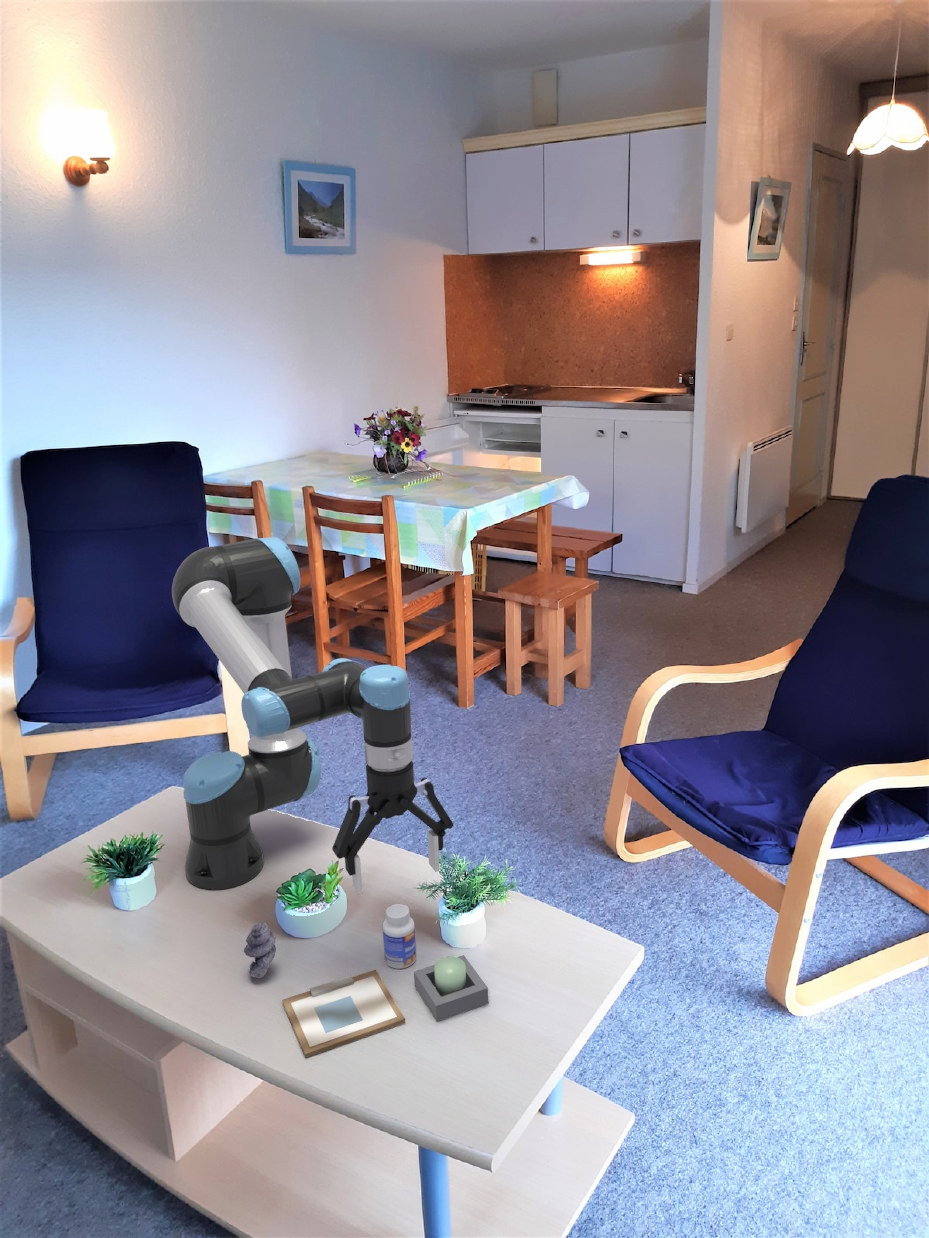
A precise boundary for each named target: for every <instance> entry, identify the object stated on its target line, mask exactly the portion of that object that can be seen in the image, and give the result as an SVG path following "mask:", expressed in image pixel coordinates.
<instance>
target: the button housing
mask: <svg viewBox="0 0 929 1238" xmlns="http://www.w3.org/2000/svg"><path fill="white" fill-rule="evenodd" d="M457 957H458V958H460V959H462V960H463V961H464V963H465V965H466V989H463V990H460V991H457V992H454V993H451V994H448V995H445V996H443V997H442V996H440V995H439V993H438V992H437V990H436V989H435V970H434V966H435V964H433V965H429V966H426V967H423V968H420V969H417V970H415V971H413V979H414V989H416V992H417V993H418V995H420V997H421V999H422V1001H423V1002H424V1004H425V1005H426V1007H427V1008H428V1010H429V1012H430V1013H431V1016H432V1017H433V1018H434V1019H435V1022H441V1021H443V1020H446V1019H449V1018H452V1017H454V1016H457V1015H461V1014H463V1013H465V1012H467V1011H470V1010H474V1009H477V1008H480V1007H482V1006H485V1005H488V1004H489V987H488V985H487V984H486V983H485V981H484V980H483V979H482V978H481V976H480V975H479V973H478V972H477V971H476V969H475V968H474V967H473V965H472V964H471V963H470V962H469V960H468V959H467V958H466V956H465V955H464V954H462V955H459V956H457Z"/></svg>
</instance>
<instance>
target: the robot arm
mask: <svg viewBox="0 0 929 1238" xmlns="http://www.w3.org/2000/svg"><path fill="white" fill-rule="evenodd" d="M291 550H292V549H290V547H289V546H288V544H287V543H285V542H284V541H283V540H282V539H281V538H278V537H273V536H271V537H261V538H259V537H257V538H256V537H255V538H251V539H247V540H241V541H235V542H230V543H226V544H225V543H224V544H221V545H220V544H219V545H216V546H206V547H203V548H200V549H197V550H196V551H194V552H192V553H191V554H189V555H188V556H187V557H186V558H185V559H184V560H182V562H181V564H180V565H179V567H177V570H176V572H175V575H174V577H173V581H172V585H171V586H172V587H171V596H172V597H171V598H172V602H173V606H174V608H175V610H176V612H177V613H178V615H179V616H180V617H181V620H182V621H183V622H184V623H185V624H186V625H188V626H190V627H192V628H196V630H197V631H198V632H199V634H200V635H201V636H202V638H203V640H204V641H205V642H206V644H207V645H208V646H209V648H210V649H211V651H212V652H213V654H215V656H216V657H217V659H218V660H219V661H220V662H221V664H222V666H223V667H224V668H225V670H226V671H227V672H228V674H229V675H230V677H231V678H232V679H233V680H234V683H236V685H237V686H238V688H239V689H240V690H241V692H242V693H243V695H242V698H241V703H240V704H241V713H242V718H243V720H244V721H245V724H246V728H247V729H248V732H249V733H251V734H252V737H251V738H249V740H248V741H247V749H248V754H247V755H246V754H245V755H243V756H242V755H241V754H240V753H239V752H237V751H233V750H231V751H230V750H226V751H223V752H222V751H221V750H219V751H216V752H215V751H214V752H212V753H208V754H205V755H203V756H202V757H200V758H198V759H196V760H195V761H193V762H192V763H191V764H190V765H189V766H188V767H187V769H186V770H185V771H184V772H185V773H183V774H184V775H183V798H184V801H185V807H186V814H187V822H188V827H189V828H188V829H189V830H188V831H189V837H190V841H189V844H188V850H187V853H186V857H185V862H184V868H185V870H184V871H185V876H186V879H187V880H188V882H189V883H190V884H191V885H193V886H195V887H197V888H201V889H205V890H227V889H231V888H235V887H238V886H241V885H243V884H246V883H247V882H249V881H251V880H252V879H253V878H255V877H256V876H257V875H258V874H259V873H261V871H262V869H263V866H264V854H263V850H262V848H261V845H260V844H259V842H258V839H257V838H256V836H255V834H254V832H253V829H252V827H251V816H254V815H256V814H258V813H262V812H265V811H268V810H270V809H271V810H272V809H274V808H276V807H277V808H278V807H281V806H283V805H286V804H289V803H292V802H298V801H300V800H301V799H303V798H305V797H307V796H310V795H312V794H313V793H314V792H315V791H316V790H317V789H318V787H319V785H320V781H321V777H322V764H321V758H320V756H319V754H318V747H317V746H316V744H315V743H314V742H313V740H311V738H308V737H307V735H306V733H305V732H304V731H303V730H301V729H300V728H302V727H305V726H309V725H311V724H314V723H317V722H321V721H325V720H329V719H332V718H335V717H338V716H342V715H345V714H352V715H354V716H355V717H357V718H358V719H361V720H362V729H363V730H362V731H363V742H364V745H363V746H364V761H365V763H366V765H365V770H366V771H365V773H366V785H367V786H366V787H367V791H366V792H367V793H366V794H365V796H359V797H357V796H356V795H354V794H351V795H349V797H348V799H347V811H346V813H345V815H344V817H343V820H342V823H341V826H340V828H339V831H338V833H337V836H336V838H335V840H334V843H333V845H332V851H333V853H334V855H335V856H336V858H337V859H340V860H341V859H343V858H344V864H345V865H344V867H345V871H346V872H347V873H348V875H349V876H351V879H352V882H351V883H352V887H353V888H354V891H355V892H356V893H357V895H361V894H363V893H364V892H363V891H364V890H363V882H362V881H363V880H362V878H363V877H362V867H361V857H360V856H359V855H358V853H359V851H360V850H361V848H362V847H363V845H364V844H365V842H366V841H367V840H368V838H369V837H370V835H371V833H372V832H373V831H374V829H375V828H376V826H378V825H379V824H380V823H381V822H382V820H383V819H385V820H388V819H391V818H393V817H395V816H398V817H399V816H403V815H405V813H406V812H407V811H408V812H410V813H411V814H412V815H414V816H415V817H416V818H418V819H419V820H420V821H421V822H422V823H424V824H425V826H427V827H428V828H429V829H427V849H428V864H429V866H430V867H431V868H432V870H434V872H440V851H442V850H443V849H444V837H445V835H446V830H447V829H452V828H453V827H454V822H453V821H452V819H451V817H450V816H449V814H448V813H447V811H446V810H445V807H444V806H443V805H442V804H441V802H440V801H439V799H438V797H437V796H436V794H435V789H434V784H433V783H432V782H431V781H430V780H429V778H427V777H422V778H421V779H420V781H419V782H416V783H415V774H414V773H415V772H414V771H415V770H414V762H413V757H414V756H413V738H412V737H413V736H412V716H411V715H412V714H411V711H412V710H411V691H410V687H409V676H408V673H407V671H405V669H404V668H402V667H400V666H398V665H391V664H378V665H374V666H369V667H367V666H366V665H364V664H362V663H360V662H358V661H355V660H351V659H349V658H343V657H341V658H335V659H333V660H331V662H329V663H328V664H327V665H326V666H325V667H324V668H323V669H322V671H320V672H317V673H314V674H310V675H305V676H300V677H297V678H293V677H292V676H293V675H292V668H291V658H290V650H289V642H288V633H287V623H286V614H287V613H288V612H289V611H290V609H291V608H292V599H291V596H294V595H296V594H297V593H298V592H299V590H300V589H301V587H300V586H301V580H302V579H301V574H300V568H299V565H298V563H297V562H298V561H297V559H296V558H295V555H294V553H293V552H292V551H291ZM418 792H419V793H420V795H422V796H424V797H425V798H426V800H427V801H428V803H429V804H430V806H431V807H432V809H433V811H434V812H435V813H436V815H437V816H438V819H440V820H438V821H436V820H435V819H434V818H432V816H430V815H429V814H428V813H427V812H426V811H424V809H422V808H421V807H419V806H418V805H417V804H416V803H415V802H414V800H415V798H416V797H417V795H418ZM365 806H368V808H367V809H366V811H365V814H364V817H363V818H362V820H361V821H360V823H359V824H358V822H359V819H360V816H361V812H364V808H365ZM357 824H358V826H357Z"/></svg>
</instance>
